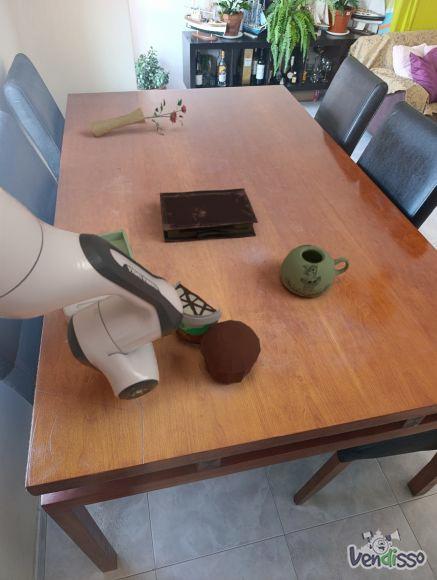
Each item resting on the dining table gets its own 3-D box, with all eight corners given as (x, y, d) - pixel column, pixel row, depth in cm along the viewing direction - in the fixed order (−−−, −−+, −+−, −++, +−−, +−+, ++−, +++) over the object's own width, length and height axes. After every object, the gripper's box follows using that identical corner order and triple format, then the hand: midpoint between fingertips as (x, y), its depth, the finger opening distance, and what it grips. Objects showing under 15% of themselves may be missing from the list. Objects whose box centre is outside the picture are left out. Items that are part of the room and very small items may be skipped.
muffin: (244, 400, 69) (249, 372, 62) (190, 378, 72) (189, 349, 65) (263, 351, 77) (270, 321, 70) (214, 333, 80) (216, 302, 72)
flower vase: (104, 150, 148) (188, 124, 149) (102, 156, 137) (192, 128, 139) (91, 119, 141) (179, 92, 143) (88, 122, 131) (183, 93, 133)
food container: (158, 325, 81) (155, 293, 73) (179, 309, 84) (178, 278, 76) (199, 359, 75) (199, 329, 68) (220, 341, 78) (222, 310, 71)
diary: (160, 205, 111) (159, 190, 107) (242, 200, 115) (243, 185, 111) (165, 245, 99) (163, 230, 95) (256, 238, 102) (258, 223, 99)
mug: (282, 301, 87) (289, 274, 80) (274, 263, 96) (280, 236, 89) (349, 301, 88) (361, 275, 81) (336, 263, 96) (345, 237, 90)
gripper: (171, 297, 72) (153, 252, 81) (61, 324, 67) (54, 273, 75) (173, 317, 77) (156, 273, 86) (70, 345, 71) (62, 294, 80)
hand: (107, 273), depth 81 cm, fingers open, 8 cm apart
